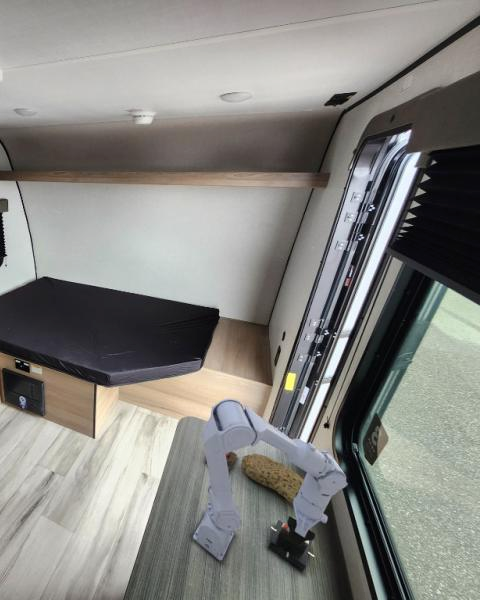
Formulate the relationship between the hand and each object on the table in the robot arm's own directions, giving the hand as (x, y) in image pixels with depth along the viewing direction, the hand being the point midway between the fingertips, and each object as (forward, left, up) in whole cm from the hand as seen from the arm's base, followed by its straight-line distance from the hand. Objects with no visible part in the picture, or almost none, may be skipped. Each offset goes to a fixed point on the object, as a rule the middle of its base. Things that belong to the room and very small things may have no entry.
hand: (296, 530), depth 82 cm
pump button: (+15, +24, -5) cm, 29 cm away
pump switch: (+15, +24, -8) cm, 29 cm away
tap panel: (0, 0, -8) cm, 8 cm away
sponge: (+18, +8, -8) cm, 21 cm away
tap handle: (0, 0, -5) cm, 5 cm away
